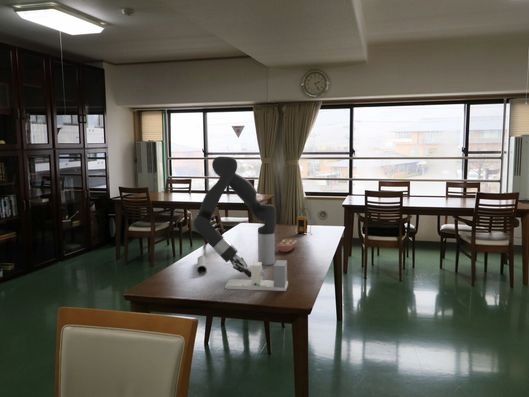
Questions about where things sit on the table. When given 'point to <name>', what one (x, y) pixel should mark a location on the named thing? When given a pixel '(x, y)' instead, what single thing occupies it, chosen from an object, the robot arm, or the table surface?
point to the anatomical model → (287, 245)
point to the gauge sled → (256, 273)
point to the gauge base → (277, 285)
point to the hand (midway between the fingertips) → (251, 276)
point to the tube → (201, 265)
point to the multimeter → (302, 223)
